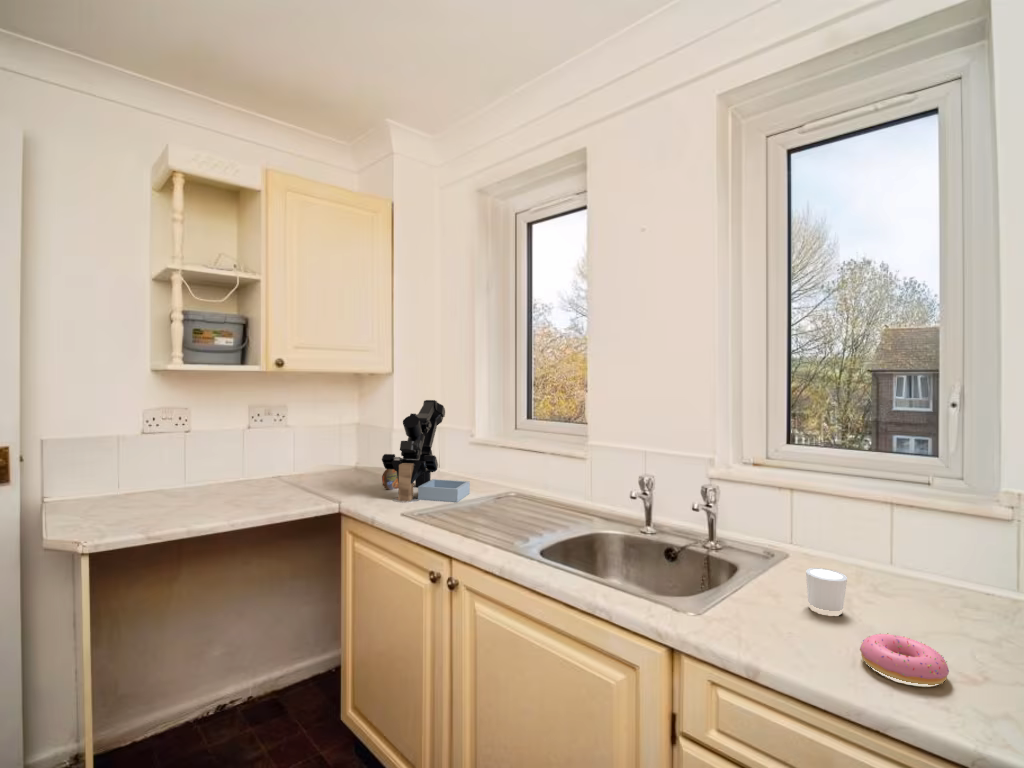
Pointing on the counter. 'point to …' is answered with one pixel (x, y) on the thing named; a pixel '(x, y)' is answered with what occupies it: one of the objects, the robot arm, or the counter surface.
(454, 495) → the bin
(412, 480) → the robot arm
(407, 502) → the base
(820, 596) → the white cylinder
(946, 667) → the doughnut
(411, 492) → the strut
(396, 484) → the tin
